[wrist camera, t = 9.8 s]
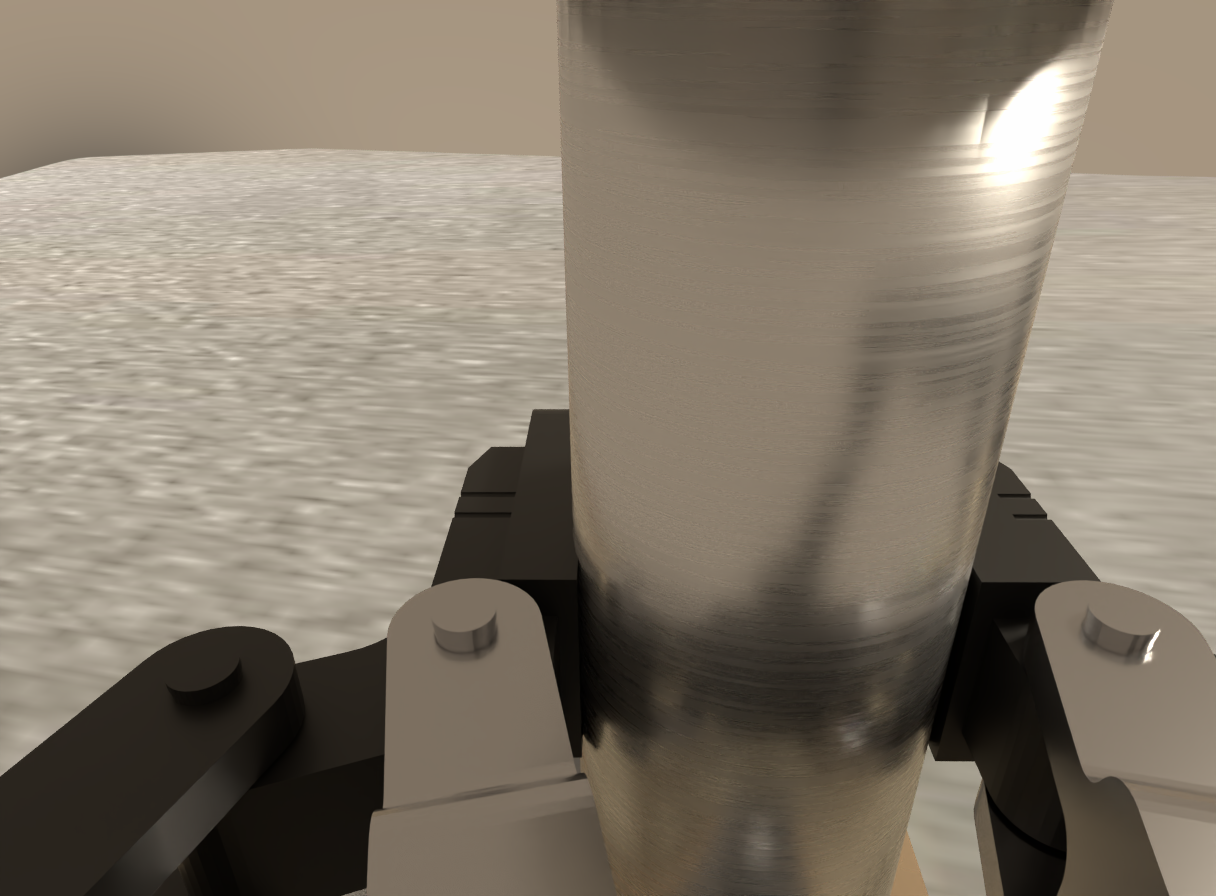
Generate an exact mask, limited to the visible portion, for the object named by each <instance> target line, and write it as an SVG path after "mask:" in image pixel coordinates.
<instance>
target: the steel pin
mask: <svg viewBox="0 0 1216 896" xmlns="http://www.w3.org/2000/svg"><path fill="white" fill-rule="evenodd" d="M1113 2H1114V0H557V27H558V58H559V59H558V60H559V90H560V91H559V93H560V125H561V157H562V189H563V221H564V253H565V286H566V318H567V350H568V382H569V414H570V446H571V478H572V511H573V540H574V545H575V551H576V555H577V557H578V571H579V606H580V642H581V677H582V713H583V747H582V758H580V768H581V773H585V774H586V776H587V778H588V781H589V783H590V787H591V790H592V793H593V797H594V801H595V805H596V809H597V813H598V818H599V822H600V826H601V830H602V835H603V839H604V843H605V847H606V851H607V856H608V860H609V864H610V868H611V873H612V877H613V881H614V885H615V889H616V894H617V896H890V894H891V890H892V886H893V882H894V878H895V874H896V870H897V866H898V862H899V858H900V854H901V850H902V846H903V842H904V838H905V834H906V830H907V826H908V822H909V818H910V814H911V810H912V806H913V802H914V798H915V794H916V790H917V786H918V782H919V778H920V774H921V770H922V766H923V762H924V758H925V754H926V750H927V746H928V742H929V738H930V734H931V730H932V726H933V722H934V718H935V714H936V710H937V706H938V702H939V698H940V694H941V690H942V686H943V682H944V678H945V674H946V670H947V666H948V662H949V658H950V654H951V650H952V646H953V642H954V638H955V634H956V630H957V626H958V622H959V618H960V614H961V610H962V606H963V602H964V598H965V594H966V590H967V586H968V582H969V578H970V574H971V570H972V566H973V562H974V558H975V554H976V550H977V546H978V542H979V538H980V534H981V530H982V526H983V522H984V518H985V514H986V510H987V506H988V502H989V498H990V494H991V490H992V486H993V482H994V478H995V474H996V470H997V466H998V462H999V458H1000V454H1001V450H1002V446H1003V442H1004V438H1005V434H1006V430H1007V426H1008V422H1009V418H1010V414H1011V410H1012V406H1013V402H1014V398H1015V394H1016V390H1017V386H1018V382H1019V378H1020V374H1021V370H1022V366H1023V362H1024V358H1025V354H1026V350H1027V346H1028V342H1029V338H1030V334H1031V330H1032V326H1033V322H1034V318H1035V314H1036V310H1037V306H1038V302H1039V298H1040V294H1041V290H1042V286H1043V282H1044V278H1045V274H1046V270H1047V266H1048V262H1049V258H1050V254H1051V250H1052V246H1053V242H1054V238H1055V234H1056V230H1057V226H1058V222H1059V218H1060V214H1061V210H1062V206H1063V202H1064V198H1065V194H1066V190H1067V186H1068V182H1069V178H1070V174H1071V170H1072V165H1073V161H1074V158H1075V154H1076V150H1077V146H1078V141H1079V138H1080V134H1081V130H1082V125H1083V121H1084V118H1085V114H1086V110H1087V105H1088V102H1089V98H1090V94H1091V90H1092V85H1093V82H1094V78H1095V74H1096V69H1097V66H1098V62H1099V57H1100V54H1101V49H1102V45H1103V42H1104V38H1105V33H1106V30H1107V26H1108V22H1109V17H1110V14H1111V9H1112V6H1113Z"/></svg>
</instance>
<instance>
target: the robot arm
mask: <svg viewBox="0 0 1216 896" xmlns="http://www.w3.org/2000/svg"><path fill="white" fill-rule="evenodd" d="M928 744H929V747H930V749H931V752H932V754H933V757H934V759H935V761H975V763H976V765H977V767H978V769H979V771H980V774H981V776H982V781H981V784H980V787H979V790H978V794H977V797H976V800H975V805H974V820H975V826H976V832H977V839H978V845H979V851H980V858H981V864H982V871H983V877H984V883H985V890H986V896H1216V655H1215V654H1213V652H1212V651H1211V649H1210V647H1209V645H1208V643H1207V642H1206V640H1205V638H1204V637H1203V635H1202V634H1201V633H1200V631H1199V630H1198V629H1197V628H1196V627H1195V626H1194V625H1193V624H1192V623H1191V622H1190V621H1189V620H1188V619H1187V618H1185V617H1184V616H1183V615H1182V614H1180V613H1179V612H1177V611H1176V610H1174V609H1173V608H1171V607H1170V606H1168V605H1166V604H1165V603H1163V602H1161V601H1159V600H1157V599H1155V598H1153V597H1151V596H1148V595H1146V594H1144V593H1142V592H1139V591H1136V590H1133V589H1130V588H1127V587H1123V586H1119V585H1116V584H1111V583H1105V582H1101V581H1100V580H1099V579H1098V577H1097V576H1096V575H1095V574H1094V572H1093V571H1092V570H1091V569H1090V567H1089V566H1088V565H1087V564H1086V562H1085V561H1084V560H1083V559H1082V557H1081V556H1080V555H1079V554H1078V552H1077V551H1076V550H1075V549H1074V547H1073V546H1072V545H1071V544H1070V542H1069V541H1068V540H1067V539H1066V537H1065V536H1064V535H1063V534H1062V532H1061V531H1060V530H1059V529H1058V527H1057V526H1056V525H1055V523H1054V522H1053V521H1052V520H1047V513H1046V512H1045V511H1044V510H1043V508H1042V507H1041V506H1040V505H1039V503H1038V502H1037V501H1036V500H1035V499H1031V493H1030V492H1029V491H1028V490H1027V488H1026V487H1025V486H1024V485H1023V483H1022V482H1021V481H1020V480H1019V478H1018V477H1017V476H1016V475H1015V473H1014V472H1013V471H1012V470H1011V469H1010V468H1008V467H1007V466H1005V465H1004V464H1002V463H1000V462H998V466H997V470H996V474H995V478H994V482H993V486H992V490H991V494H990V498H989V502H988V506H987V510H986V514H985V518H984V522H983V526H982V530H981V534H980V538H979V542H978V546H977V550H976V554H975V558H974V562H973V566H972V570H971V574H970V578H969V582H968V586H967V590H966V594H965V598H964V602H963V606H962V610H961V614H960V618H959V622H958V626H957V630H956V634H955V638H954V642H953V646H952V650H951V654H950V658H949V662H948V666H947V670H946V674H945V678H944V682H943V686H942V690H941V694H940V698H939V702H938V706H937V710H936V714H935V718H934V722H933V726H932V730H931V734H930V738H929V742H928ZM582 747H583V713H582V677H581V642H580V606H579V571H578V557H577V555H576V551H575V545H574V540H573V511H572V478H571V446H570V414H569V409H534V410H533V411H532V416H531V421H530V426H529V430H528V435H527V440H526V445H525V447H491V448H490V449H489V450H488V451H486V452H485V453H484V454H483V455H482V456H481V457H480V458H479V459H478V460H477V461H475V462H474V463H473V464H472V465H471V466H470V467H469V468H468V471H467V474H466V477H465V481H464V484H463V487H462V490H461V497H459V500H458V503H457V506H456V509H455V517H454V518H453V519H452V522H451V525H450V529H449V532H448V535H447V538H446V541H445V545H444V548H443V551H442V554H441V557H440V561H439V564H438V567H437V570H436V573H435V577H434V580H433V583H432V586H431V588H428V589H426V590H424V591H422V592H420V593H419V594H417V595H415V596H414V597H412V598H411V599H410V600H408V601H407V602H406V603H405V604H404V605H403V606H402V607H401V608H400V609H399V610H398V611H397V612H396V614H395V615H394V617H393V618H392V620H391V623H390V625H389V628H388V634H387V638H385V639H383V640H381V641H379V642H377V643H374V644H372V645H369V646H366V647H364V648H360V649H357V650H353V651H350V652H345V653H341V654H337V655H332V656H328V657H323V658H319V659H314V660H310V661H306V662H301V663H297V664H295V661H294V657H293V653H292V651H291V649H290V647H289V645H288V644H287V643H286V642H285V641H284V640H283V639H282V638H281V637H279V636H278V635H276V634H275V633H272V632H270V631H267V630H265V629H260V628H255V627H246V626H232V627H222V628H215V629H210V630H206V631H202V632H199V633H196V634H193V635H190V636H187V637H184V638H182V639H180V640H178V641H176V642H173V643H171V644H169V645H167V646H166V647H164V648H162V649H161V650H159V651H157V652H156V653H154V654H153V655H151V656H150V657H149V658H147V659H146V660H145V661H143V662H142V663H141V664H140V665H138V666H137V667H136V668H135V669H133V670H132V671H131V672H130V673H128V674H127V675H126V676H125V677H123V678H122V679H121V680H120V681H118V682H117V683H116V684H115V685H113V686H112V687H111V688H110V689H109V690H107V691H106V692H105V693H104V694H102V695H101V696H100V697H99V698H97V699H96V700H95V701H94V702H92V703H91V704H90V705H89V706H87V707H86V708H85V709H84V710H82V711H81V712H80V713H79V714H77V715H76V716H75V717H74V718H72V719H71V720H70V721H69V722H67V723H66V724H65V725H64V726H63V727H61V728H60V729H59V730H58V731H56V732H55V733H54V734H53V735H51V736H50V737H49V738H48V739H46V740H45V741H44V742H43V743H41V744H40V745H39V746H38V747H36V748H35V749H34V750H33V751H31V752H30V753H29V754H28V755H26V756H25V757H24V758H23V759H22V760H20V761H19V762H18V763H17V764H15V765H14V766H13V767H12V768H10V769H9V770H8V771H7V772H5V773H4V774H3V775H2V776H0V896H342V895H345V894H349V893H352V892H355V891H358V890H362V889H365V888H367V896H617V894H616V889H615V885H614V881H613V877H612V873H611V868H610V864H609V860H608V856H607V851H606V847H605V843H604V839H603V835H602V830H601V826H600V822H599V818H598V813H597V809H596V805H595V801H594V797H593V793H592V790H591V787H590V783H589V781H588V778H587V776H586V774H585V773H578V774H577V771H576V768H575V764H574V759H573V758H582Z"/></svg>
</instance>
